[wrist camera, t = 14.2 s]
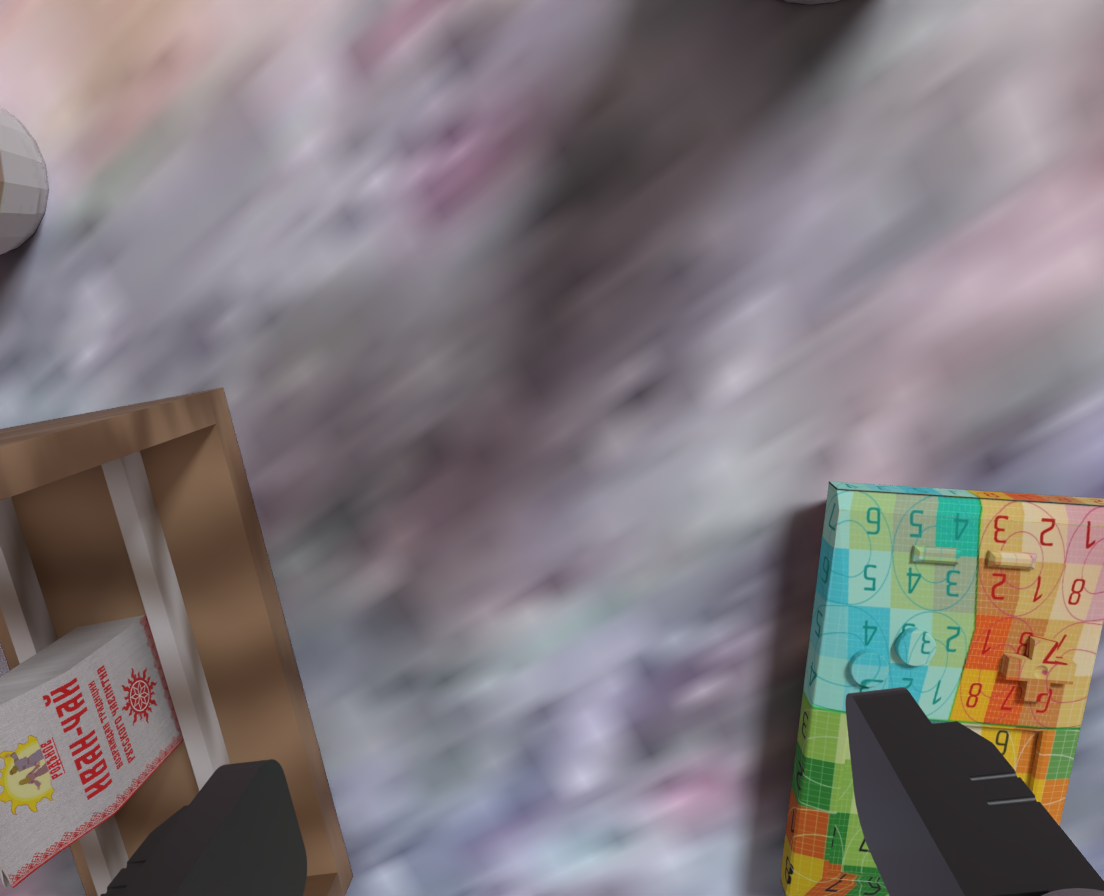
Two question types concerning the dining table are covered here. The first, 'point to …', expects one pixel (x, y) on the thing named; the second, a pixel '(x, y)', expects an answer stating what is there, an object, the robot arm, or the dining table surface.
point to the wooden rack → (164, 603)
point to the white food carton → (78, 738)
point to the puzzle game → (942, 646)
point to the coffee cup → (19, 183)
